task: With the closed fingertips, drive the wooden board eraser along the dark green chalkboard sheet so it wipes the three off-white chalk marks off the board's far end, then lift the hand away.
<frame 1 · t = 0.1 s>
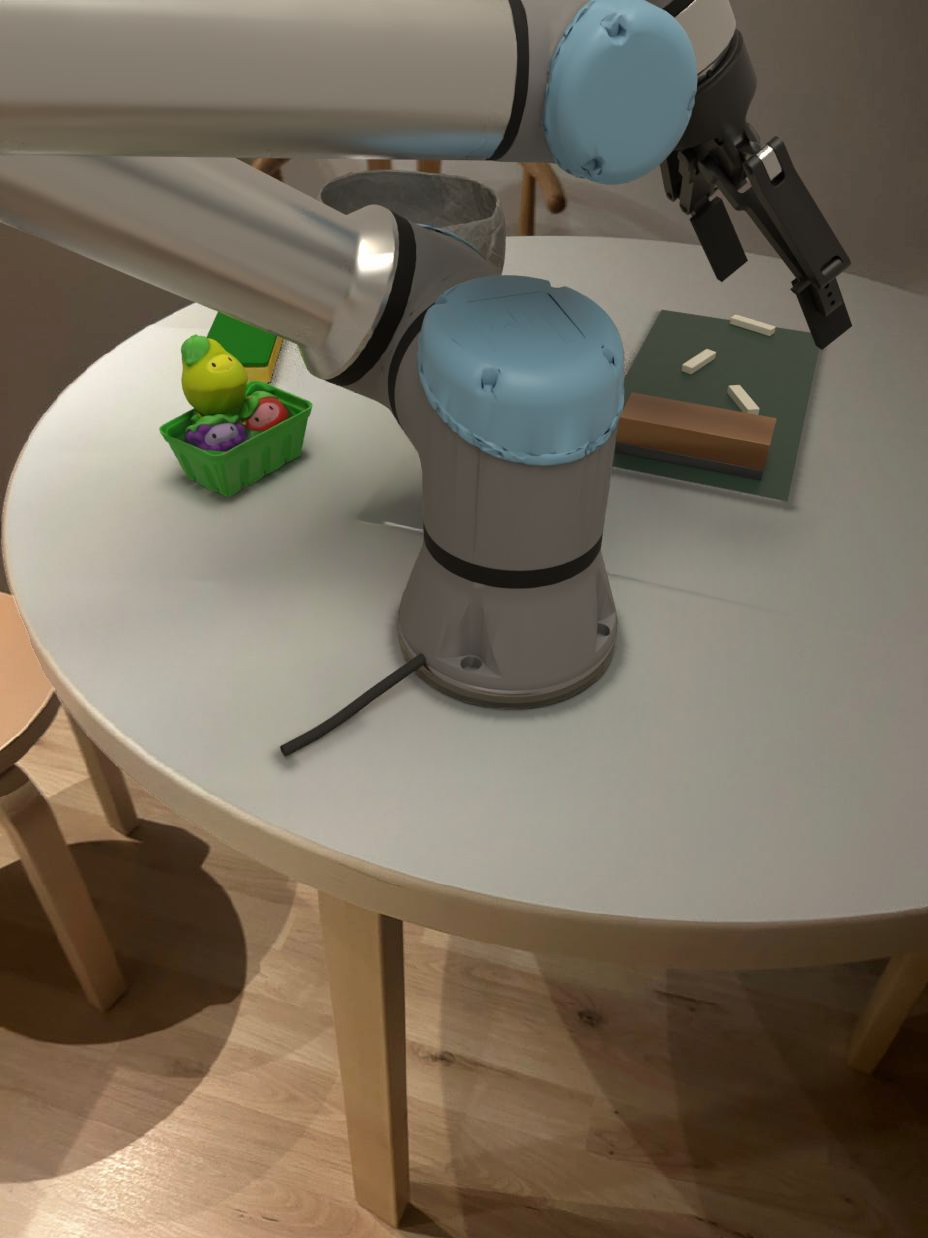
hand: (780, 301, 76), 15 cm above the table, tool tilted 35°, fingers open, 13 cm apart
fruit basket: (241, 467, 85), on the table
board eraser: (691, 452, 86), resting on chalkboard
chalkboard: (713, 394, 96), on the table
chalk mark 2: (698, 364, 100), resting on chalkboard
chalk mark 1: (742, 404, 94), resting on chalkboard
bowl: (409, 335, 106), on the table
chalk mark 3: (751, 328, 107), resting on chalkboard
dish sponge: (245, 355, 102), on the table
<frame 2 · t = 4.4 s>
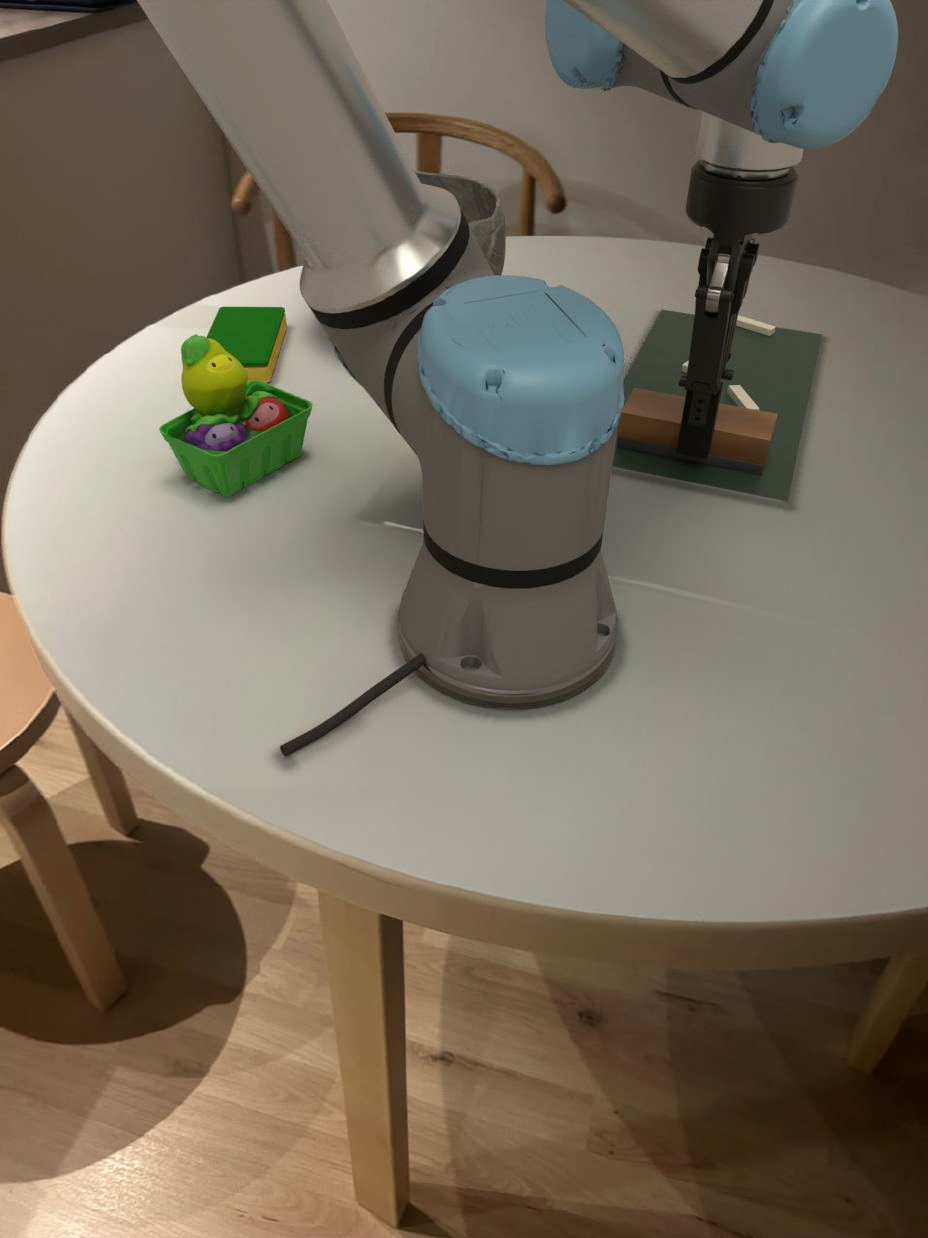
hand: (693, 451, 84), 2 cm above the table, tool pointing down, fingers closed
board eraser: (692, 447, 87), point 1 cm above the table, touching chalkboard, gripper
everything else where it was.
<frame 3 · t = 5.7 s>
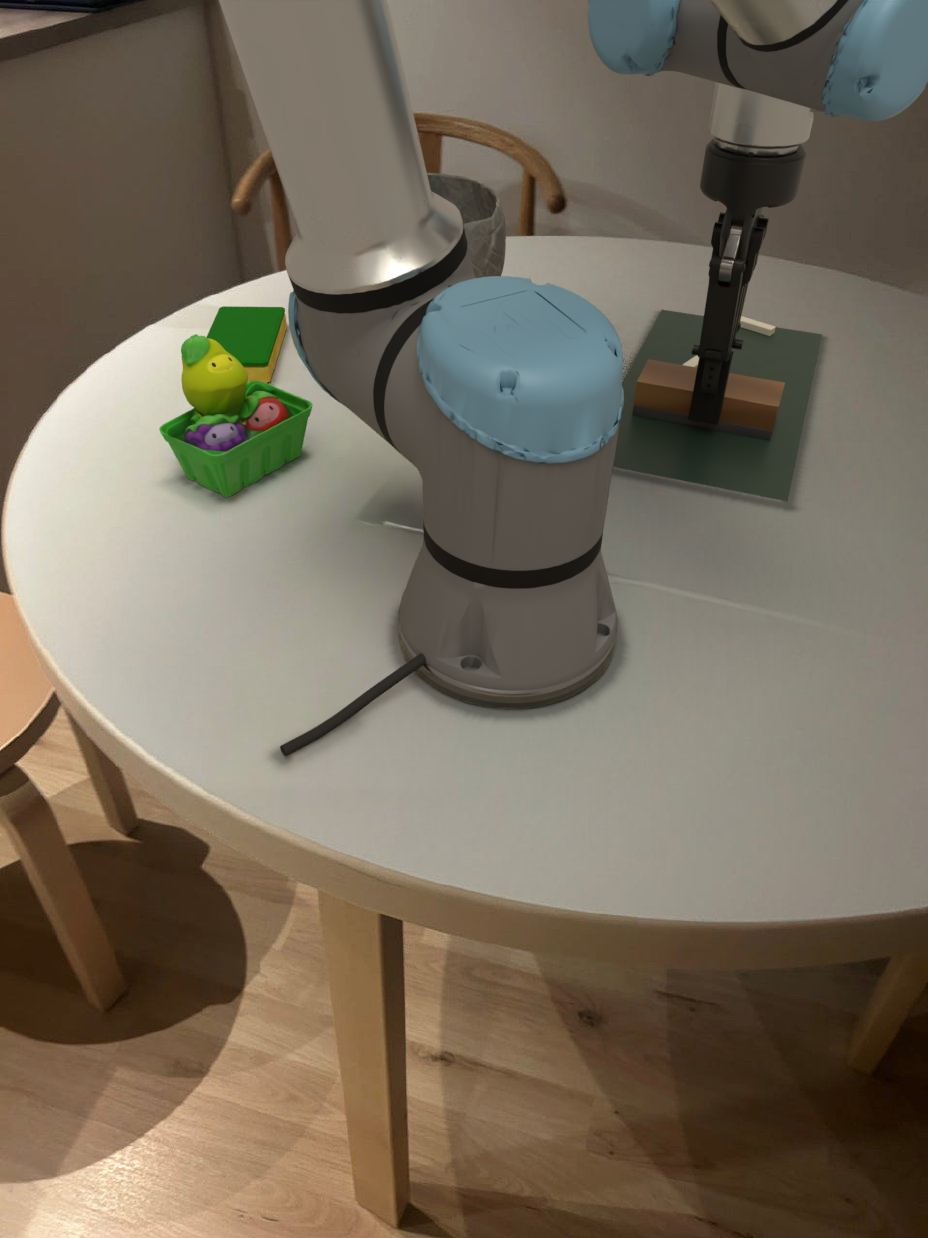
hand: (704, 418, 88), 2 cm above the table, tool pointing down, fingers closed
board eraser: (704, 415, 92), point 1 cm above the table, touching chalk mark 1, chalkboard
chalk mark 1: (744, 398, 94), resting on chalkboard, touching board eraser
everything else where it was.
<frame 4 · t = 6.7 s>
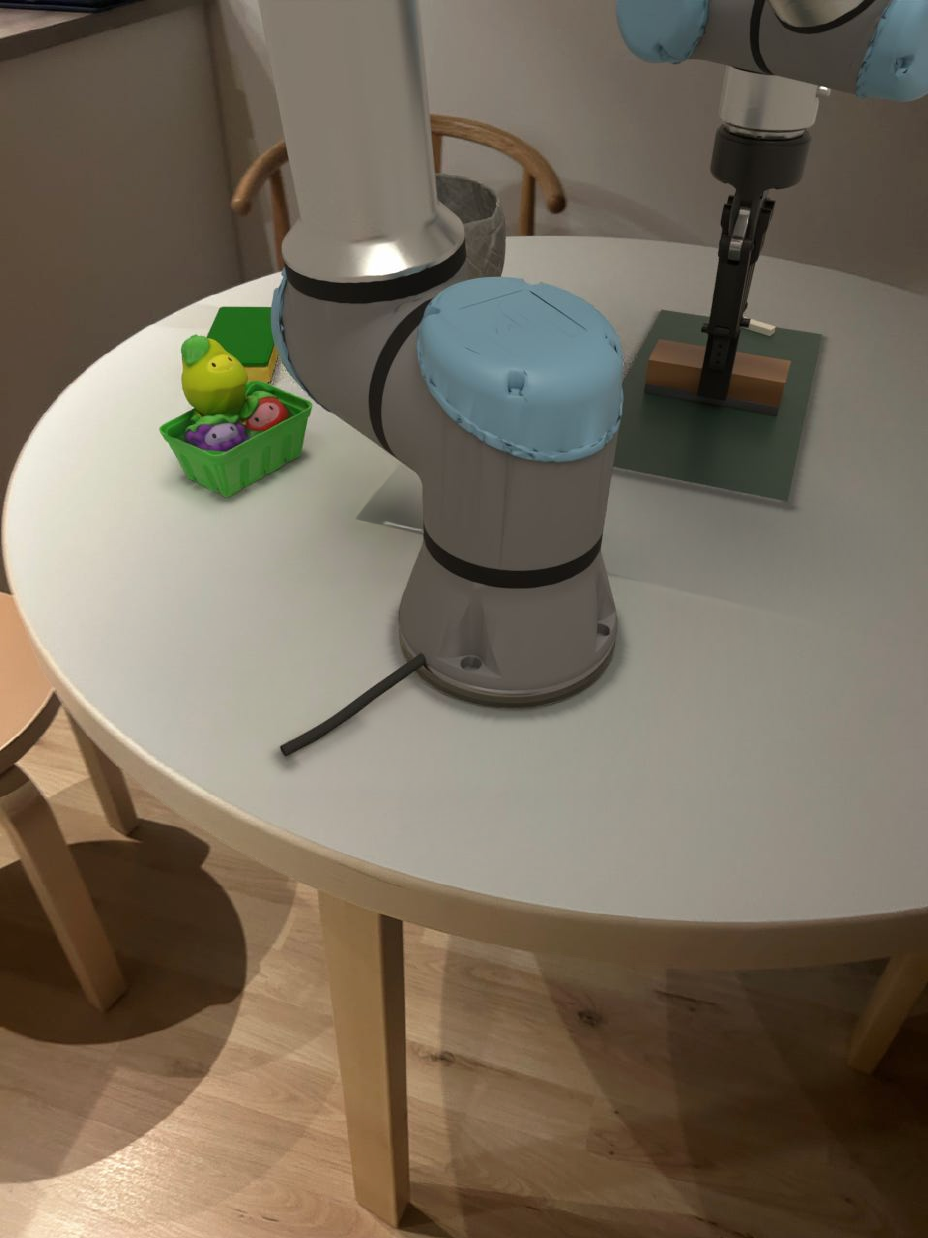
hand: (712, 394, 92), 2 cm above the table, tool pointing down, fingers closed
board eraser: (713, 392, 95), point 1 cm above the table, touching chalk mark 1, gripper
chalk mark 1: (752, 377, 98), resting on chalkboard, touching board eraser
everything else where it was.
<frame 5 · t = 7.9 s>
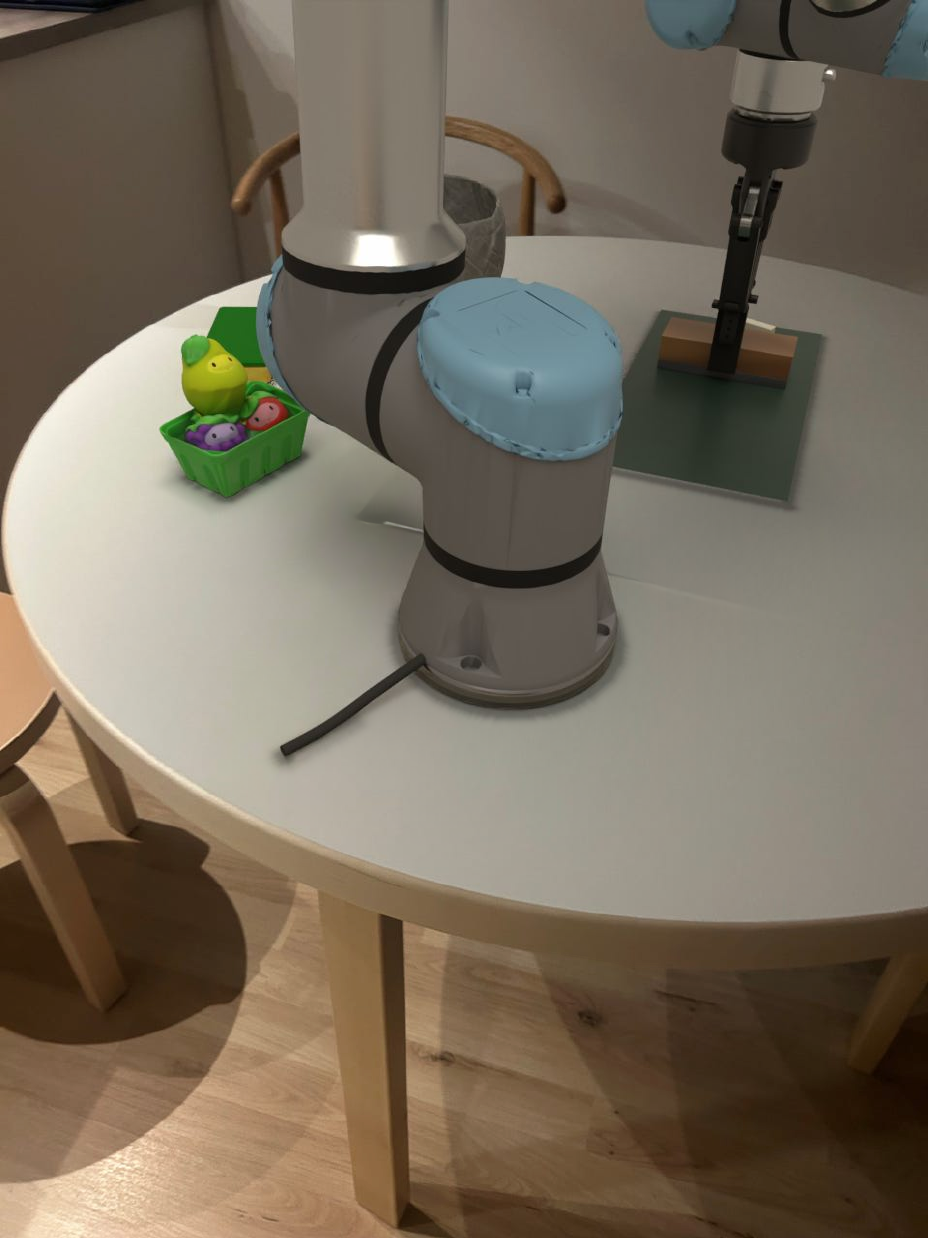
hand: (721, 368, 96), 2 cm above the table, tool pointing down, fingers closed
board eraser: (723, 368, 99), point 1 cm above the table, touching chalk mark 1, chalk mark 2
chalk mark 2: (702, 343, 104), point 1 cm above the table, touching board eraser
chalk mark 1: (761, 354, 102), point 1 cm above the table, touching board eraser, chalkboard
everything else where it was.
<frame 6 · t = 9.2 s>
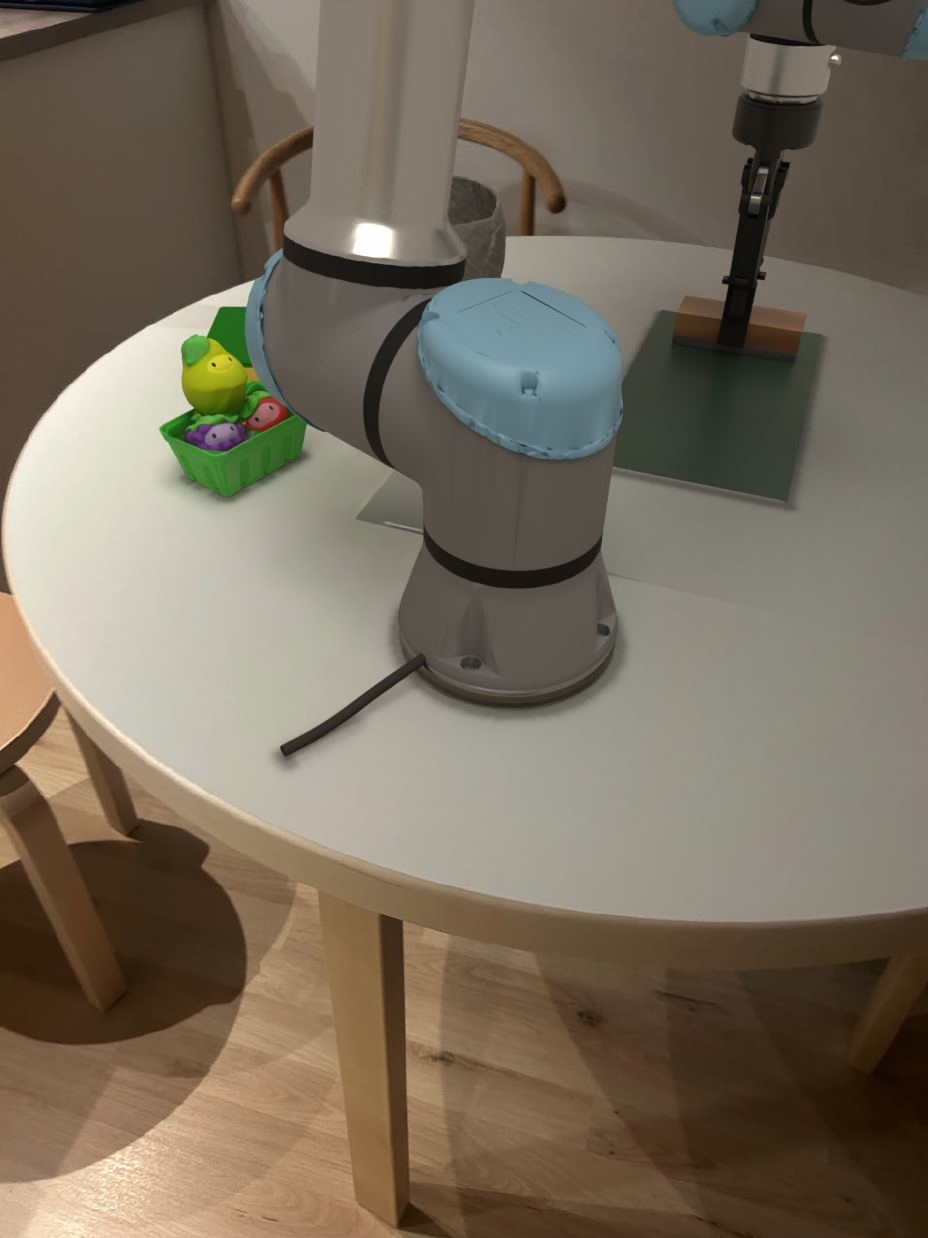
hand: (730, 343, 101), 2 cm above the table, tool pointing down, fingers closed
board eraser: (735, 343, 104), point 1 cm above the table, touching chalkboard, gripper
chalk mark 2: (707, 320, 109), on the table, touching chalkboard
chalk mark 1: (765, 334, 106), point 1 cm above the table, touching chalkboard
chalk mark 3: (751, 325, 108), point 1 cm above the table
everything else where it was.
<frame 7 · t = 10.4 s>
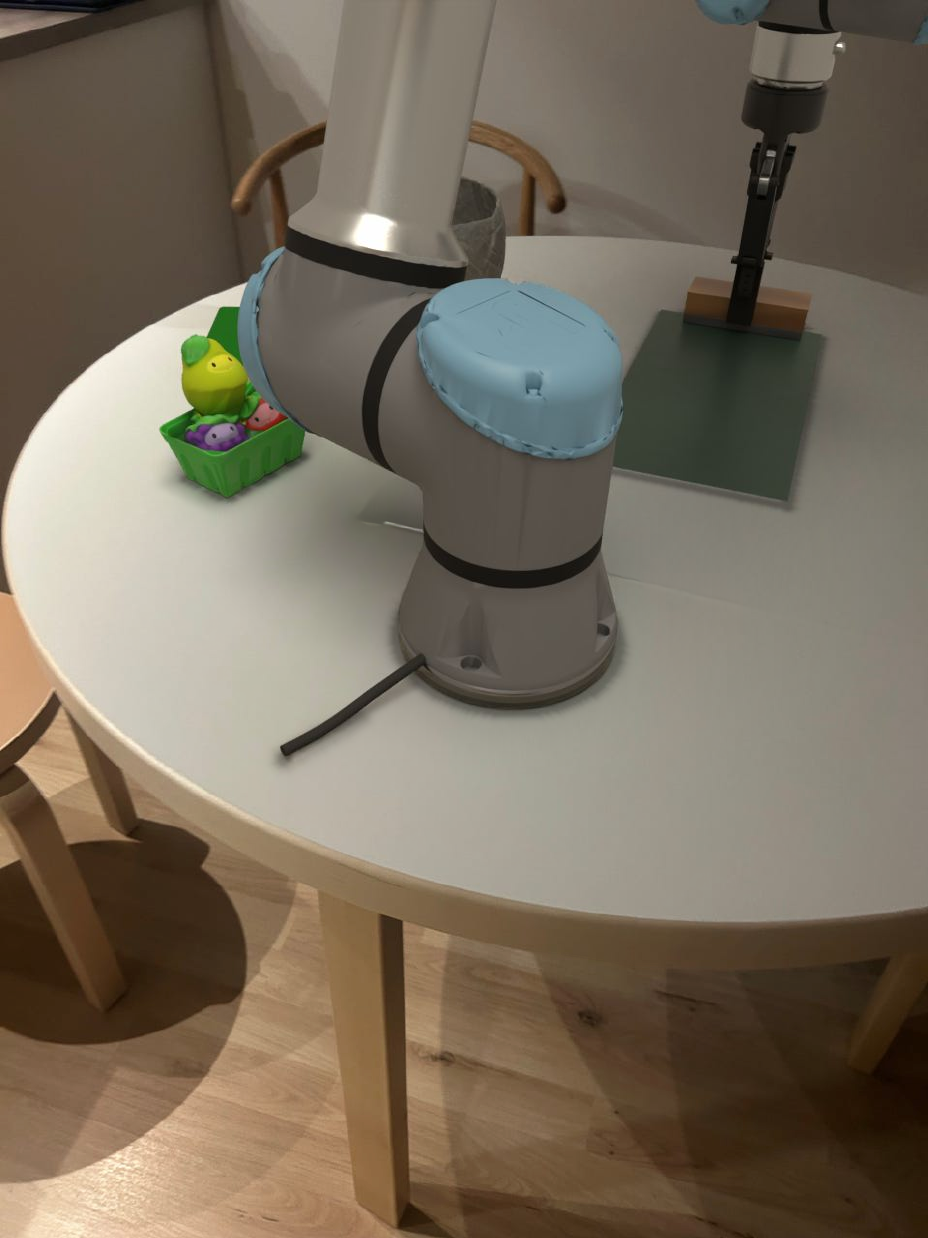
hand: (738, 321, 105), 2 cm above the table, tool pointing down, fingers closed
board eraser: (743, 322, 108), point 1 cm above the table, touching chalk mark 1, gripper
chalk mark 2: (715, 306, 113), on the table
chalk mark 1: (771, 321, 110), on the table, touching board eraser
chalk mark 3: (755, 310, 111), point 1 cm above the table, tilted 88°
everything else where it was.
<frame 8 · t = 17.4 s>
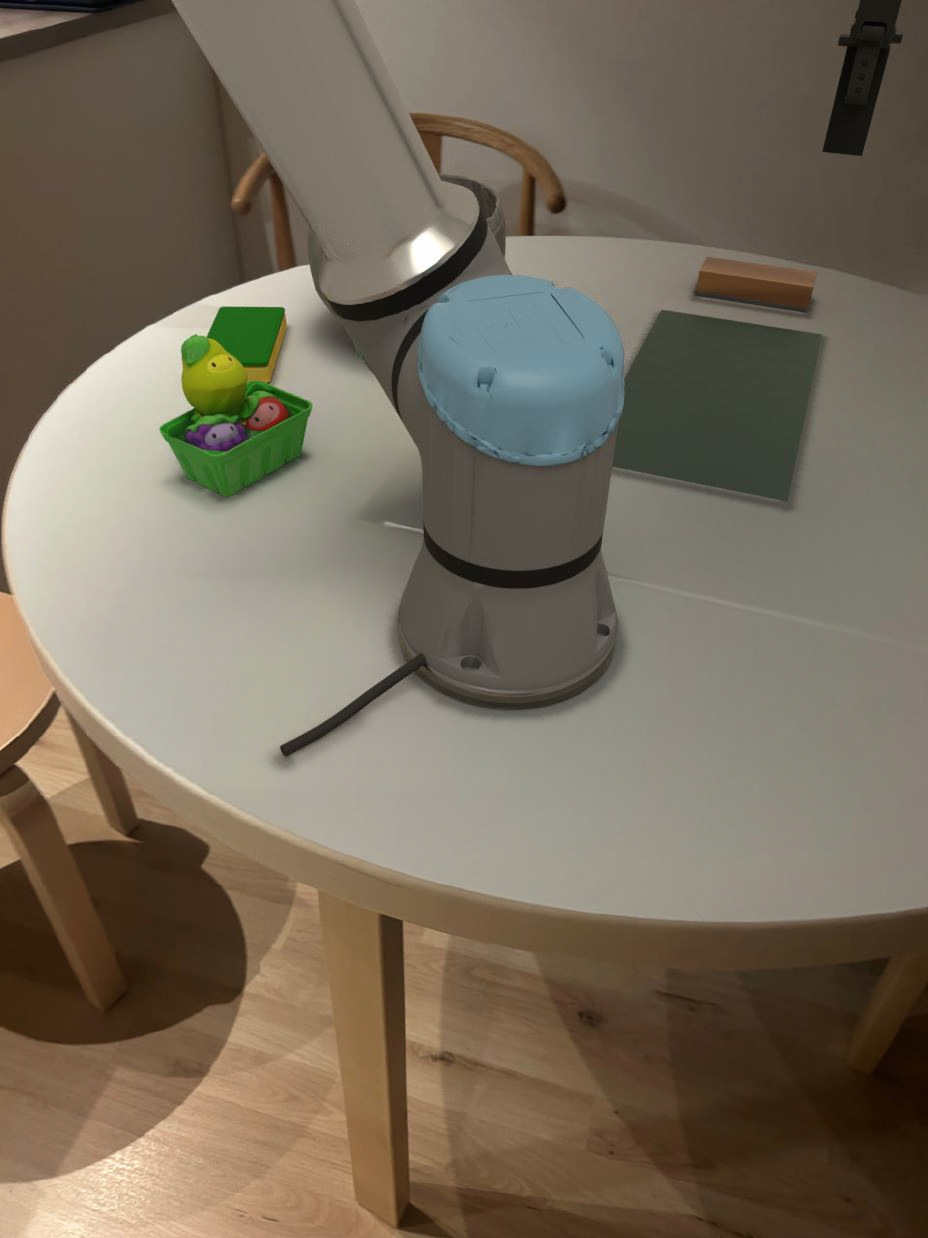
hand: (842, 150, 68), 26 cm above the table, tool pointing down, fingers closed
board eraser: (752, 300, 115), on the table
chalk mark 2: (724, 281, 119), on the table
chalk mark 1: (780, 294, 116), on the table, touching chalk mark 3
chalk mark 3: (763, 285, 117), point 1 cm above the table, tilted 90°, touching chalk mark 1
everything else where it was.
at the end: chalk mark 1 touching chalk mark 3, table; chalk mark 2 touching table; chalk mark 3 touching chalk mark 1, table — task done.
